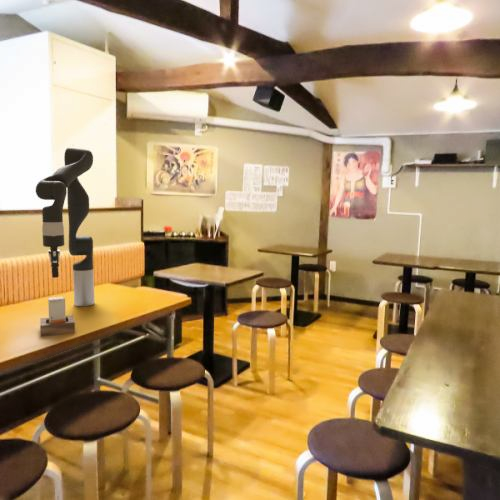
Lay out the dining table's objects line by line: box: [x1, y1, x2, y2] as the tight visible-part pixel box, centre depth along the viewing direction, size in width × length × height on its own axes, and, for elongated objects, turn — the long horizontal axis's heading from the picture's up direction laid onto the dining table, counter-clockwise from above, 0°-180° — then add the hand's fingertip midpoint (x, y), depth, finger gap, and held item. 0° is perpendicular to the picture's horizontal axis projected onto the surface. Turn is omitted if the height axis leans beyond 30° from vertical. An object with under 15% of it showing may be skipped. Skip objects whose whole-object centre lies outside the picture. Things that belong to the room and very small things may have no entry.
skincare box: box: [47, 295, 67, 323], centre depth 171 cm, size 6×4×12 cm
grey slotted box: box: [39, 314, 76, 337], centre depth 171 cm, size 11×12×4 cm
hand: (55, 275), depth 169 cm, fingers open, 8 cm apart
